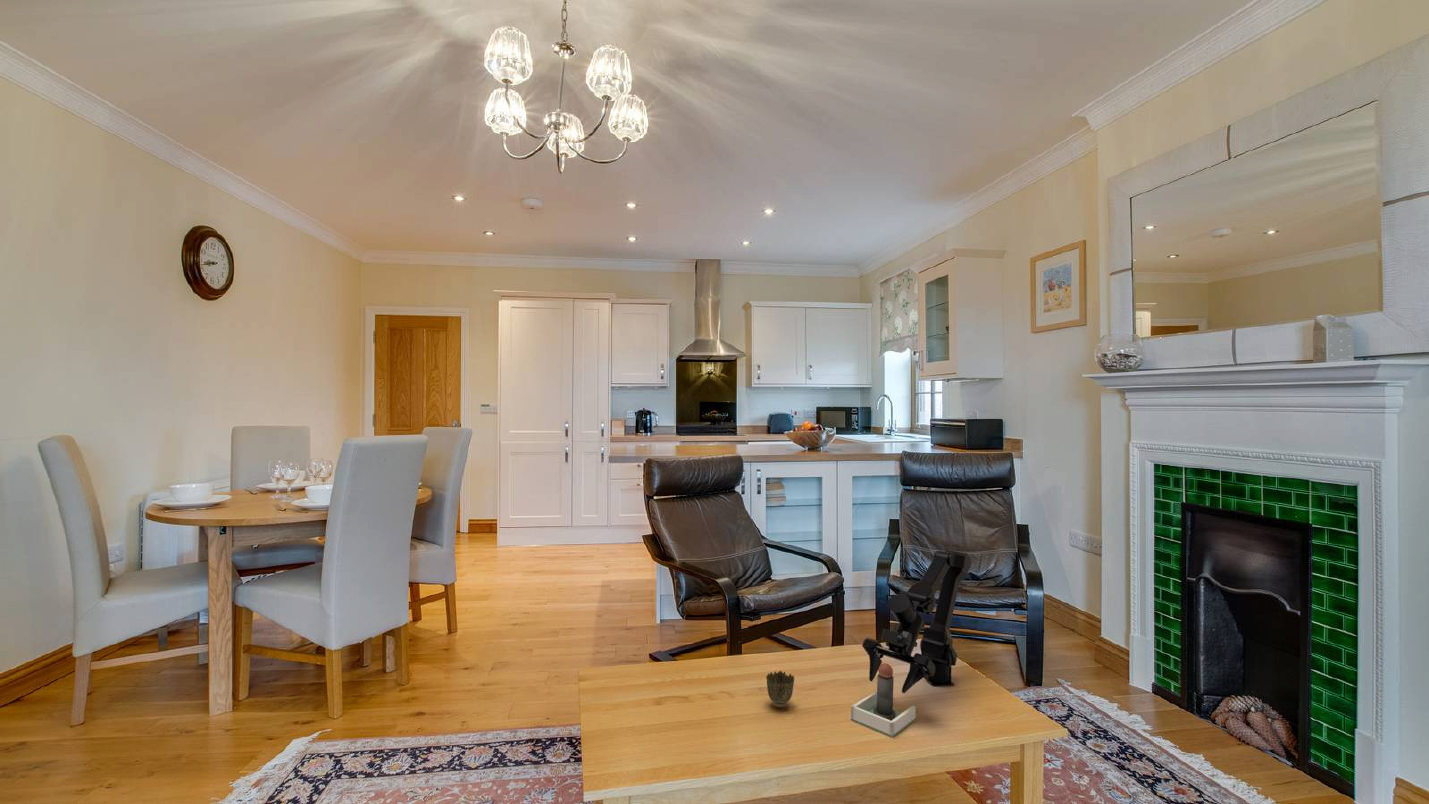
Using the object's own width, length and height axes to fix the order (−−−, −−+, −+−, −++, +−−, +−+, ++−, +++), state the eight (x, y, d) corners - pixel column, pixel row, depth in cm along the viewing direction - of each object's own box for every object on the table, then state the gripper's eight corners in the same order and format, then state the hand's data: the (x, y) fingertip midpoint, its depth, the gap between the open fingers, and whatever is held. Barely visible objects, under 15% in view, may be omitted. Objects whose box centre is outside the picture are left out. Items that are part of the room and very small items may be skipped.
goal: (874, 704, 169) (875, 691, 169) (915, 720, 161) (915, 706, 161) (850, 720, 160) (851, 706, 160) (892, 737, 152) (892, 723, 152)
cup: (799, 706, 167) (799, 676, 167) (782, 716, 161) (783, 685, 161) (777, 697, 172) (777, 668, 172) (760, 706, 166) (760, 676, 166)
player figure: (884, 710, 164) (885, 658, 164) (900, 719, 160) (901, 666, 160) (868, 715, 162) (870, 662, 162) (884, 725, 157) (885, 670, 157)
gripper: (865, 608, 171) (843, 660, 164) (931, 625, 158) (910, 683, 151) (880, 629, 177) (858, 680, 169) (944, 648, 164) (924, 704, 156)
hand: (886, 686), depth 161 cm, fingers open, 9 cm apart
